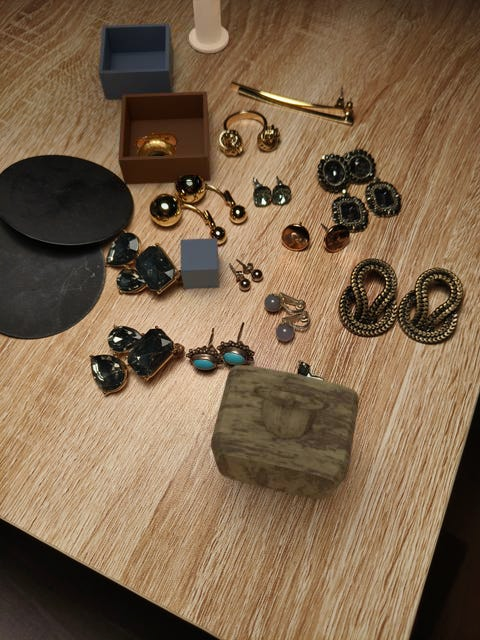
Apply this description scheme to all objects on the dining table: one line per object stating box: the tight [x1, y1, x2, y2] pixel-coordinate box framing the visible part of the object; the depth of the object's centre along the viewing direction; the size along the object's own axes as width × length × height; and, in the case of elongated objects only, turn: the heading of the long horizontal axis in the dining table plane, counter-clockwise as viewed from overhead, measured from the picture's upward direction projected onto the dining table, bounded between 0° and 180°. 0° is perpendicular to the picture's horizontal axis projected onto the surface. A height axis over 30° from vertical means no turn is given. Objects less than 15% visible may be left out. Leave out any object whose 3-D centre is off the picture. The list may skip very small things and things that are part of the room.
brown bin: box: [117, 91, 211, 185], centre depth 93 cm, size 13×13×6 cm
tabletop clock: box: [210, 364, 360, 500], centre depth 62 cm, size 14×9×25 cm, turn 77°
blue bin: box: [98, 22, 174, 101], centre depth 100 cm, size 11×11×6 cm
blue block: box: [180, 237, 220, 290], centre depth 83 cm, size 5×5×5 cm
